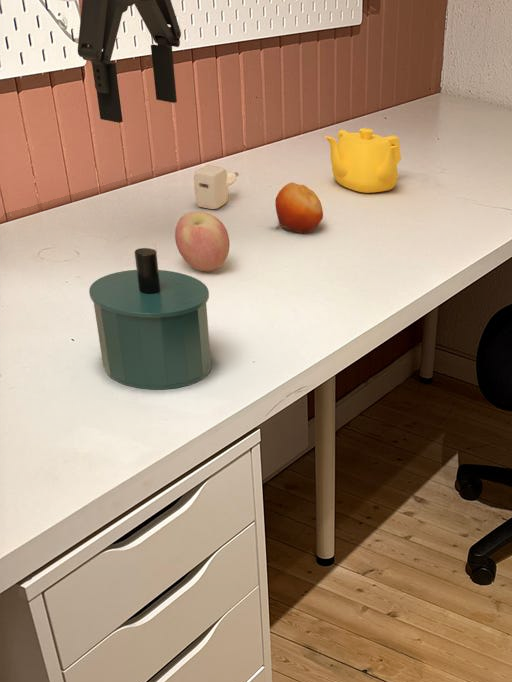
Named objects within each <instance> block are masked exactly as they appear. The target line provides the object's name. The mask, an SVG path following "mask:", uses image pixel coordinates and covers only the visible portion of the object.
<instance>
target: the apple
mask: <svg viewBox="0 0 512 682" xmlns="http://www.w3.org/2000/svg"><path fill="white" fill-rule="evenodd" d="M174 240H175V245H176V248H177V250H178V253H179V254H180V256H181V257H182V259H183V260H184V261H185V262H186V263H187V264H188V265H189V266H191V267H193V268H194V269H196V270H197V271H201V272H213V271H216V270H218V269H219V268H220V267H222V266H223V264H224V263H225V262H226V260H227V258H228V256H229V253H230V247H231V246H230V236H229V233H228V230H227V227H226V226H225V225H224V223H223V221H221V219H219V218H218V217H217V216H216V215H214V214H213V213H210V212H206V211H191V212H188V213H185V214H183V216H181V217H180V218H179V219H178V221H177V223H176V226H175V229H174Z"/></svg>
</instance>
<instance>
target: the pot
mask: <svg viewBox="0 0 512 682" xmlns="http://www.w3.org/2000/svg"><path fill="white" fill-rule="evenodd" d="M93 309H94V314H95V321H96V327H97V333H98V340H99V347H100V354H101V360H102V361H101V362H102V366H103V368H104V371H105V373H106V374H107V376H108V377H109V378H111V379H112V380H113V381H115V382H116V383H119V384H122V385H125V386H128V387H132V388H137V389H144V390H172V389H179V388H183V387H187V386H191V385H193V384H196V383H198V382H200V381H202V380H203V379H205V378H206V377H207V375H209V373H210V371H211V369H212V361H211V360H212V359H211V347H210V334H209V319H208V308H207V302H206V303H205V304H204V305H203V306H202V307H200V308H199V309H197V310H194V311H192V312H189V313H186V314H181V315H176V316H170V317H157V318H146V317H133V316H126V315H121V314H117V313H113V312H110V311H107V310H105V309H103V308H101V307H99V306H97V305H96V304H95V303H94V302H93Z"/></svg>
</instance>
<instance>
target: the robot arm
mask: <svg viewBox="0 0 512 682" xmlns="http://www.w3.org/2000/svg"><path fill="white" fill-rule="evenodd" d="M81 2H82V3H81V11H80V20H79V21H80V22H79V31H78V40H77V41H78V42H77V54H78V56H79V58H82V60H84V61H89V62H90V63H91V67H92V74H93V82H94V88H95V91H96V97H97V105H98V112H99V119H100V120H102V121H109V122H113V123H118V124H121V123H123V122H124V120H123V113H122V104H121V103H122V102H121V96H120V89H119V87H120V86H119V80H118V71H117V64H116V63H115V62H111V60H112V56H113V53H114V50H115V49H114V48H115V44H116V41H117V37H118V34H119V33H118V32H119V29H120V25H121V21H122V18H123V14H124V13H125V12H127V11H128V9H129V7H132V6H133V5H134V6H135V8H136V10H137V12H138V14H139V15H140V17H141V18H142V21H143V22H144V25H145V27H146V29H147V30H148V32H149V34H150V36H151V39H152V40H153V42H154V43H155V44H154V43H153V44H151V45H150V53H151V61H152V62H151V63H152V73H153V80H154V90H155V101H161V102H167V103H172V104H175V103H177V102H178V98H177V89H176V79H175V77H176V76H175V65H174V55H173V47H175V48H179V47H180V45H181V40H180V39H181V38H182V32H181V31H182V30H181V28H180V24H179V21H178V18H177V15H176V12H175V9H174V7H173V6H174V5H173V2H172V0H82V1H81Z"/></svg>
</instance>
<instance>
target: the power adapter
mask: <svg viewBox="0 0 512 682" xmlns="http://www.w3.org/2000/svg"><path fill="white" fill-rule="evenodd" d="M237 177H239V173H238V172H237V171H234V172H230V171H227V170H226V168H225V167H222V166H218V165H213V164H212V165H211V164H206V165H204V166H202V167H200V168H199V169H197V170H196V171H194V175H193V184H194V195H195V204H196V205H197V206H198V207H200V208H204V209H209V210H217V209H220V208H221V207H222V206H223V205H225V204H227V203H228V200H229V187H231V186H233V185H234V184H235V183H236V182H237V180H238V179H237Z"/></svg>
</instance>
